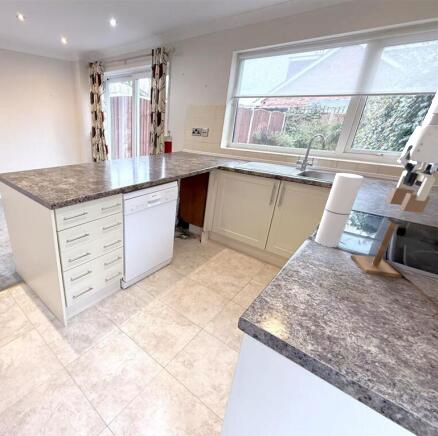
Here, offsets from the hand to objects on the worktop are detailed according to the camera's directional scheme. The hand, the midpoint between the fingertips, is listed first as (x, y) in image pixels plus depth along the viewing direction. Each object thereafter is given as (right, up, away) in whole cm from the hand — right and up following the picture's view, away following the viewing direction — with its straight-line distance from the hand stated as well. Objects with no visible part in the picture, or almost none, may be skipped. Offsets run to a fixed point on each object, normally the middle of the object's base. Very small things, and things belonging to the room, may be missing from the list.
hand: (413, 185), depth 75 cm
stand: (-12, -25, 0) cm, 28 cm away
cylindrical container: (-16, -19, +15) cm, 29 cm away
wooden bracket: (0, -7, +3) cm, 7 cm away
